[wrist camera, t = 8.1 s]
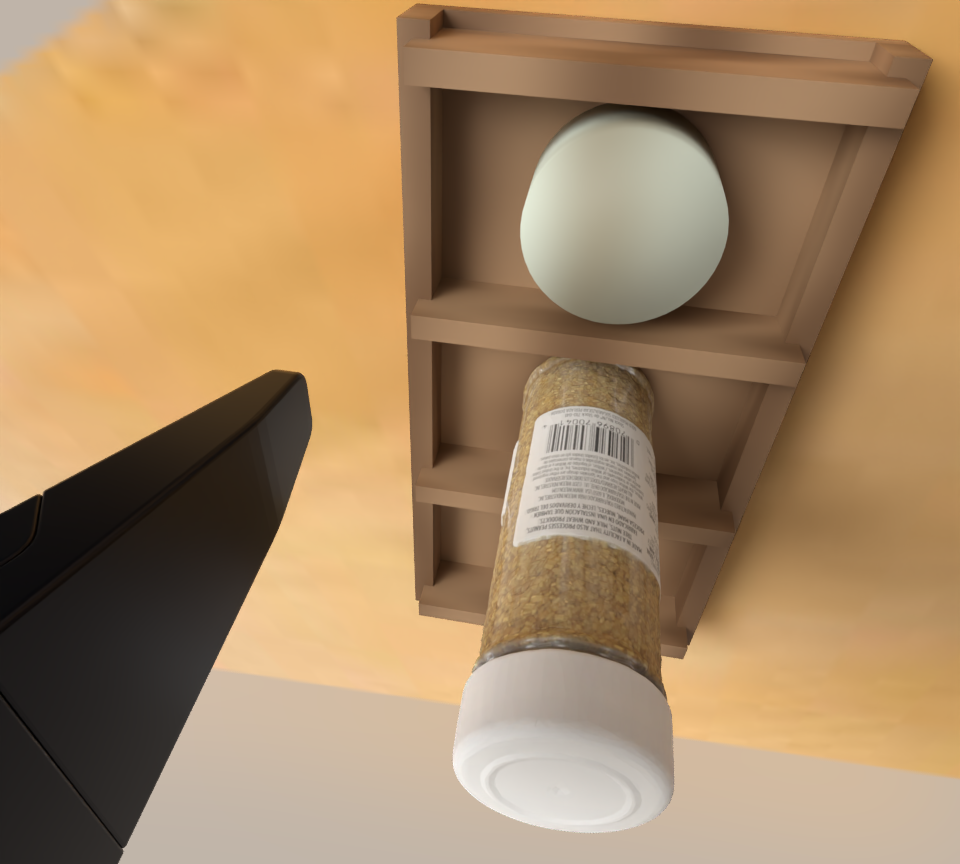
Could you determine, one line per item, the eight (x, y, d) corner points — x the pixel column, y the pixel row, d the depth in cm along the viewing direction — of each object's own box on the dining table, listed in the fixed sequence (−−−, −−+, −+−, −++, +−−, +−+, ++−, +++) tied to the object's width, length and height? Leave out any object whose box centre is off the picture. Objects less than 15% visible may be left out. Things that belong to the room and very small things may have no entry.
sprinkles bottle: (504, 418, 25) (419, 797, 15) (558, 321, 22) (495, 709, 12) (617, 464, 26) (607, 860, 16) (683, 375, 23) (724, 791, 13)
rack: (905, 40, 17) (949, 70, 14) (686, 606, 31) (690, 666, 29) (416, 3, 18) (385, 25, 16) (425, 565, 32) (410, 618, 30)
